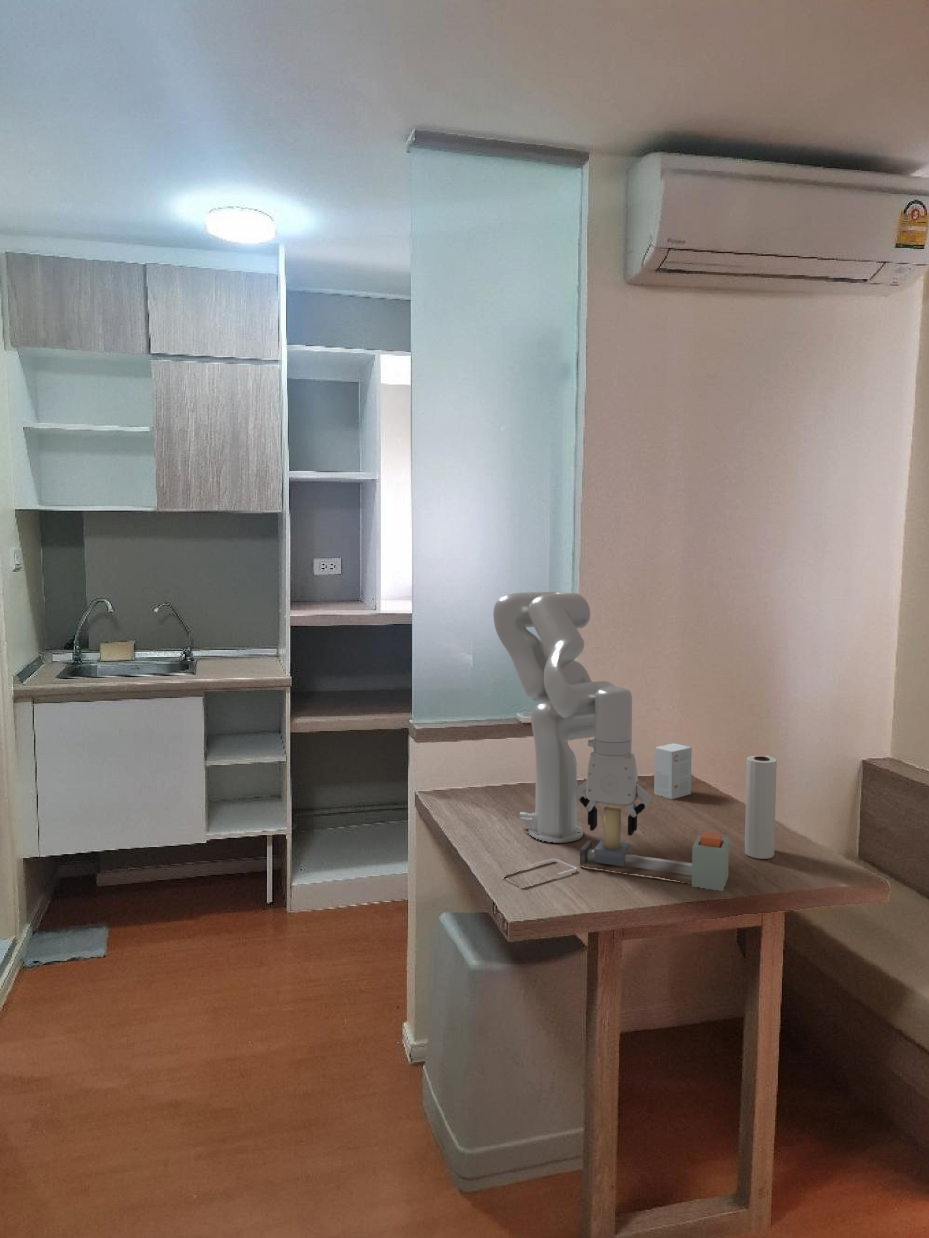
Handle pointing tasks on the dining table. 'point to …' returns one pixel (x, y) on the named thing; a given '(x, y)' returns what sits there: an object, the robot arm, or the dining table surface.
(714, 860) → the green button housing
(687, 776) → the small box
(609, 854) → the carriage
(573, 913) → the dining table surface
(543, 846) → the dining table surface
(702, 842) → the button
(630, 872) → the rail base
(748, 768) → the paper towel roll
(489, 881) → the dining table surface
